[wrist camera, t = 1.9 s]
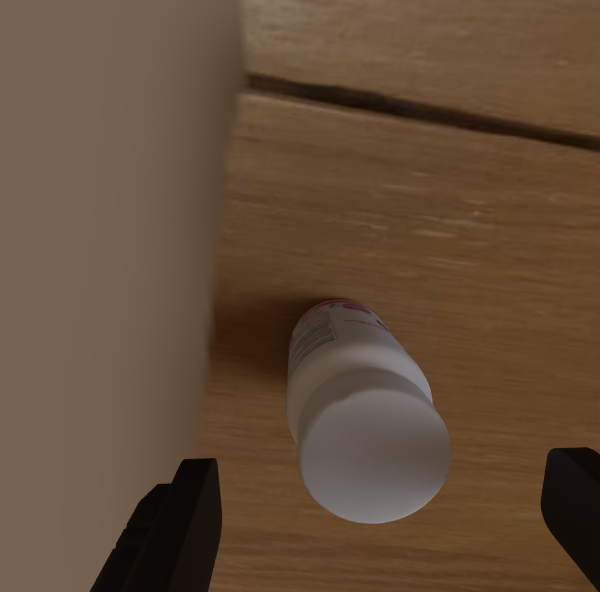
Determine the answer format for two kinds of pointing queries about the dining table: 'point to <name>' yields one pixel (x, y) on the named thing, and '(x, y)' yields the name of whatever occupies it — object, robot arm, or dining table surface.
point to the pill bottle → (362, 416)
